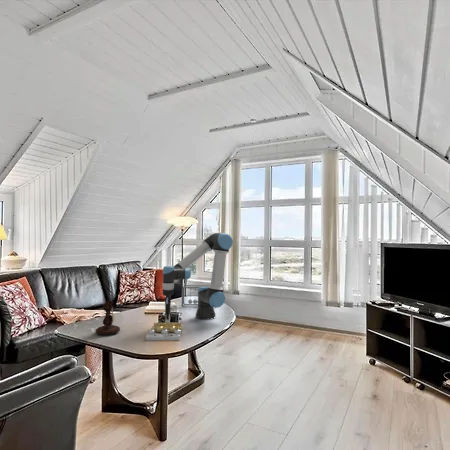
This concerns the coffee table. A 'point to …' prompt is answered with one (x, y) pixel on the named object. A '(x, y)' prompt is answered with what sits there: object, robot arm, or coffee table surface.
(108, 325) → the dark wooden figurine
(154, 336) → the steel leaf
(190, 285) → the newton's cradle
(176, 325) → the brass leaf
